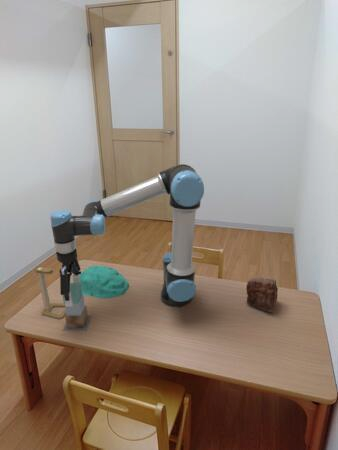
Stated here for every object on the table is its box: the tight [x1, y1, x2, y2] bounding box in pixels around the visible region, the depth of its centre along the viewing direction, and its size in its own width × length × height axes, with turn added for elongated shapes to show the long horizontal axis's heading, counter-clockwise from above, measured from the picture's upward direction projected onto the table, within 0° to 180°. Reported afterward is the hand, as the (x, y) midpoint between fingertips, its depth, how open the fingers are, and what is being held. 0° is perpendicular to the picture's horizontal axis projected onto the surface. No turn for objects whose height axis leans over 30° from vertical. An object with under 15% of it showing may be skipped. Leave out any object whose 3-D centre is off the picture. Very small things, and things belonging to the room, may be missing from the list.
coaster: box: [62, 314, 93, 332], centre depth 143 cm, size 10×10×1 cm
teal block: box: [61, 282, 82, 304], centre depth 137 cm, size 6×6×6 cm
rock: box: [245, 277, 279, 313], centre depth 147 cm, size 14×12×15 cm
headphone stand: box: [35, 266, 66, 320], centre depth 146 cm, size 10×11×22 cm
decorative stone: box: [79, 265, 130, 299], centre depth 167 cm, size 21×27×10 cm
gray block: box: [64, 295, 86, 316], centre depth 139 cm, size 6×6×6 cm
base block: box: [64, 305, 89, 328], centre depth 142 cm, size 7×7×6 cm
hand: (73, 296), depth 138 cm, fingers open, 11 cm apart
